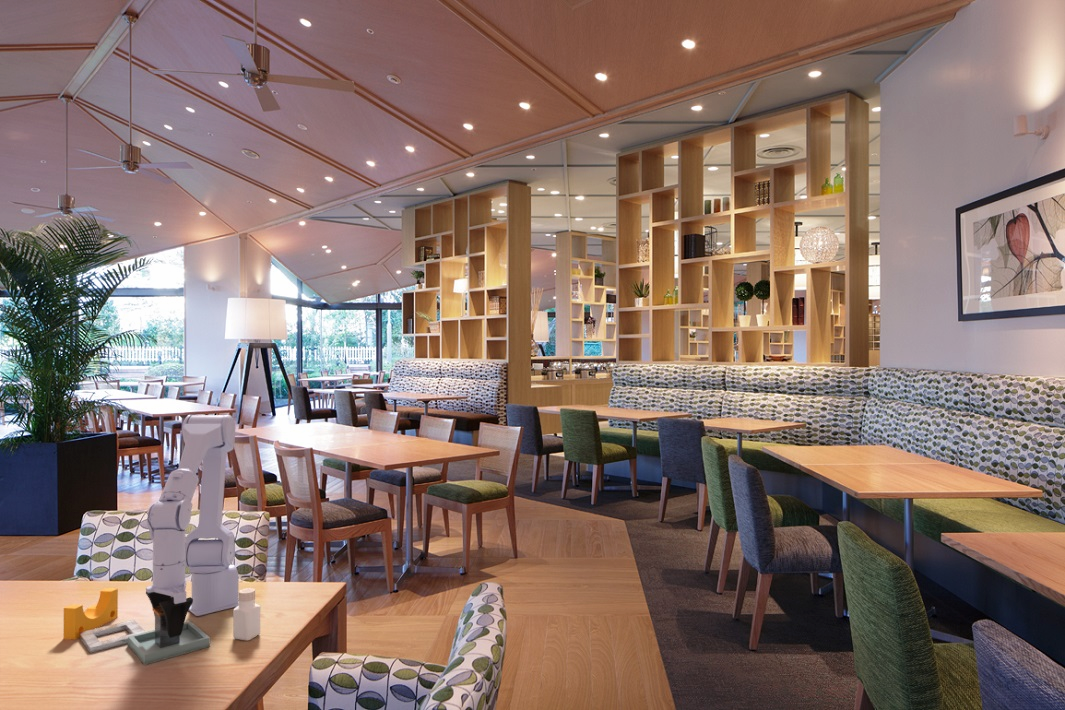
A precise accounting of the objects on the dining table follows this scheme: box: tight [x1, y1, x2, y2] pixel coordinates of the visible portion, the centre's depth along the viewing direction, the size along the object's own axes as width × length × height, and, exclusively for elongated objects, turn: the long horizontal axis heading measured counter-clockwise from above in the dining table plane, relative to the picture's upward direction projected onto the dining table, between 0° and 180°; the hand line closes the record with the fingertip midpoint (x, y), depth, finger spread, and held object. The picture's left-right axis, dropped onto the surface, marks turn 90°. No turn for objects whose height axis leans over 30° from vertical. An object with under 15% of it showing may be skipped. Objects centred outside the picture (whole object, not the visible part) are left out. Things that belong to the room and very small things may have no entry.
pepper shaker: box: [232, 587, 261, 641], centre depth 141 cm, size 4×4×10 cm
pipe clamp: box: [63, 587, 119, 640], centre depth 146 cm, size 12×4×6 cm, turn 173°
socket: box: [78, 619, 147, 654], centre depth 140 cm, size 10×10×1 cm
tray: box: [127, 620, 211, 665], centre depth 136 cm, size 12×12×2 cm
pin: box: [152, 606, 180, 648], centre depth 136 cm, size 4×4×7 cm
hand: (168, 630), depth 136 cm, fingers open, 7 cm apart
